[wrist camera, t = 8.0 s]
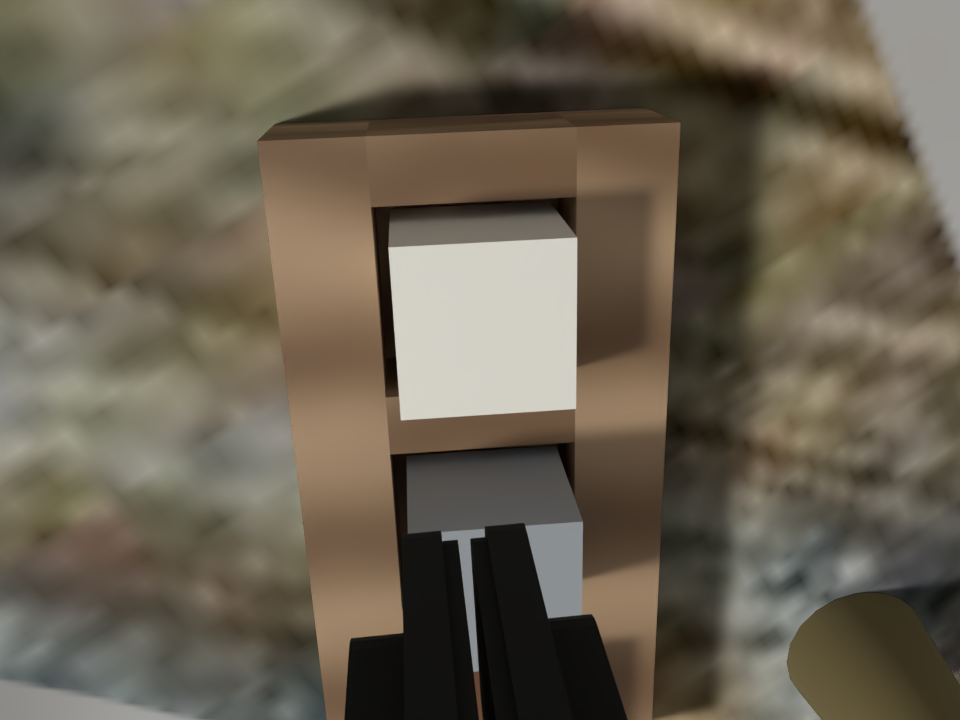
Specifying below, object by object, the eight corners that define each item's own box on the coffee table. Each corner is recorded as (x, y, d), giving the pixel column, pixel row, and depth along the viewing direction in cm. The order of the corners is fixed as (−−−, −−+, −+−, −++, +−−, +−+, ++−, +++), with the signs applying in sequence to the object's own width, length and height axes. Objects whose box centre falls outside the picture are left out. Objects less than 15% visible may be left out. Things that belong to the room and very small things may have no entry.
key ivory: (390, 209, 28) (388, 247, 24) (549, 201, 28) (577, 237, 24) (400, 358, 30) (400, 420, 25) (549, 349, 30) (575, 409, 26)
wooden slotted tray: (275, 124, 29) (257, 141, 25) (645, 108, 30) (680, 122, 26) (346, 751, 38) (340, 831, 35) (624, 726, 39) (648, 801, 35)
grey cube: (406, 455, 30) (408, 534, 25) (555, 445, 30) (582, 521, 26) (415, 582, 32) (418, 676, 27) (555, 571, 32) (581, 662, 28)
